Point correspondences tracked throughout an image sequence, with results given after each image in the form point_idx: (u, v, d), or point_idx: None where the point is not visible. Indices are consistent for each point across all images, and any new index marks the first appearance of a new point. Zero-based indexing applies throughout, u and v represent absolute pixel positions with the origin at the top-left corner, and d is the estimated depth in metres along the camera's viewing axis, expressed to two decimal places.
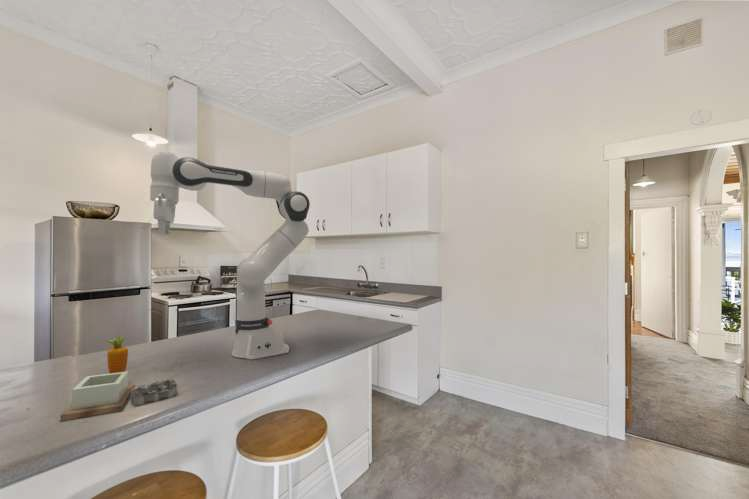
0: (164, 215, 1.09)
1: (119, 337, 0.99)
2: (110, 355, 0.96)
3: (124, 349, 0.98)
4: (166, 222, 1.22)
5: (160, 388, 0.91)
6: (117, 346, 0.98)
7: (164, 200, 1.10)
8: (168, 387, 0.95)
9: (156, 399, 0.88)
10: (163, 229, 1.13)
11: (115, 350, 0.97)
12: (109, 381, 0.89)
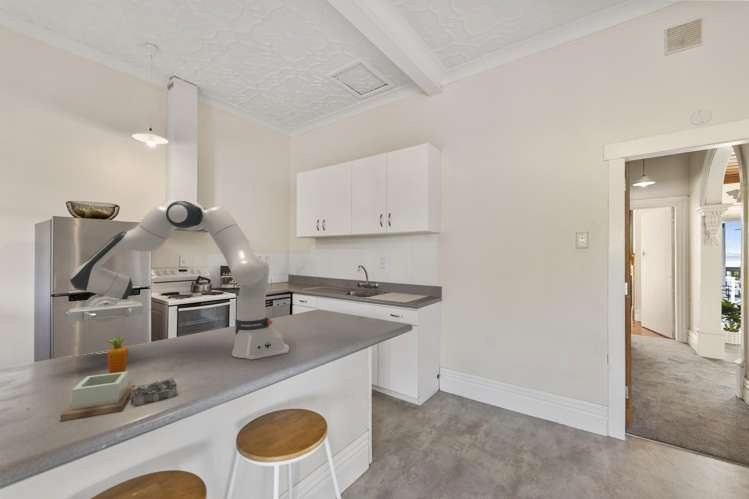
0: (68, 312, 1.03)
1: (119, 337, 0.99)
2: (110, 355, 0.96)
3: (124, 349, 0.98)
4: None
5: (160, 388, 0.91)
6: (117, 346, 0.98)
7: None
8: (168, 387, 0.95)
9: (156, 399, 0.88)
10: (89, 314, 1.03)
11: (115, 350, 0.97)
12: (109, 381, 0.89)
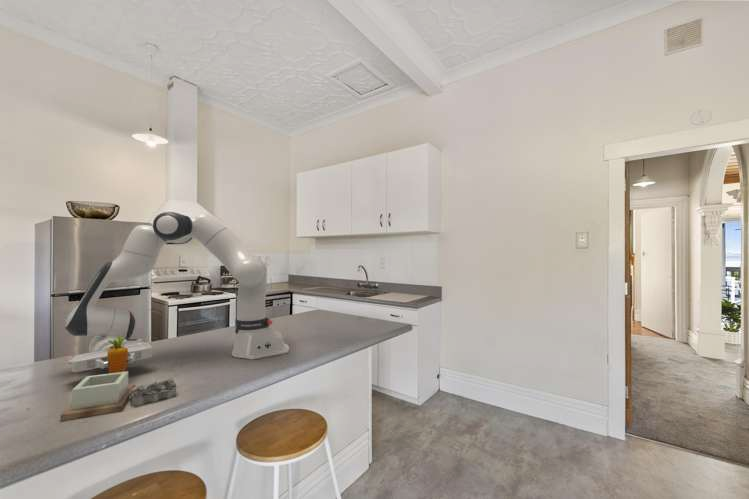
0: (72, 361, 0.94)
1: (119, 337, 0.99)
2: (110, 355, 0.96)
3: (124, 349, 0.98)
4: (128, 356, 1.03)
5: (159, 389, 0.90)
6: (117, 346, 0.98)
7: None
8: (167, 388, 0.95)
9: (155, 400, 0.88)
10: (101, 363, 0.96)
11: (115, 350, 0.97)
12: (109, 381, 0.89)
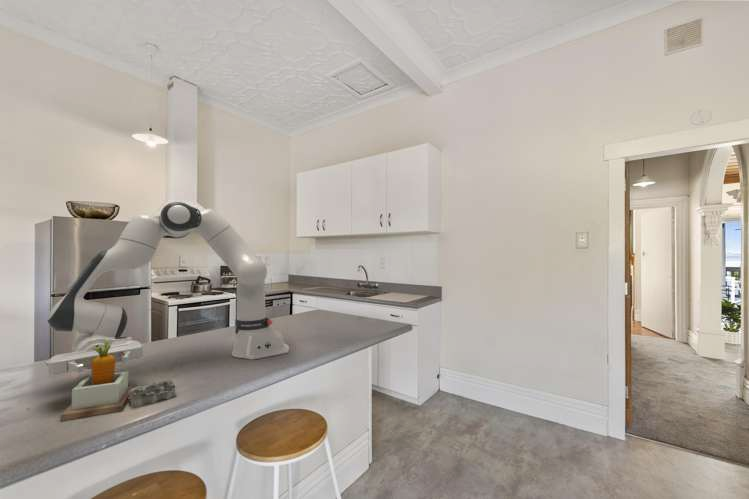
0: (49, 362, 0.82)
1: (106, 344, 0.87)
2: (94, 365, 0.84)
3: (110, 358, 0.86)
4: (123, 355, 0.92)
5: (158, 389, 0.90)
6: (102, 354, 0.85)
7: None
8: (166, 388, 0.94)
9: (154, 400, 0.87)
10: (75, 366, 0.82)
11: (100, 359, 0.84)
12: None
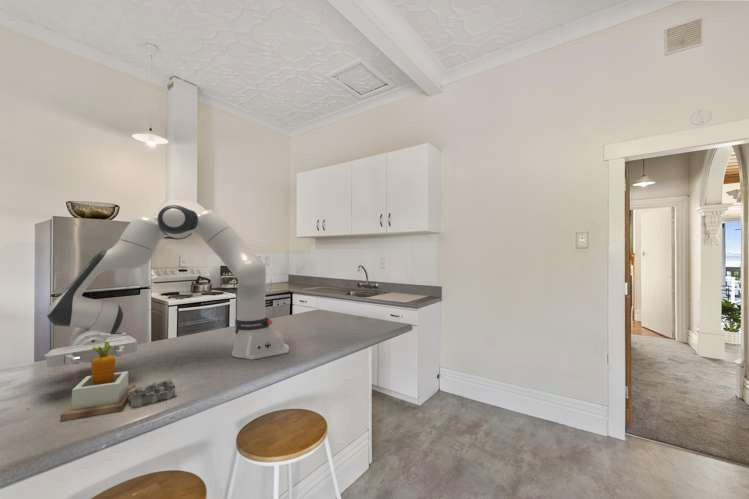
0: (47, 355, 0.87)
1: (106, 344, 0.87)
2: (94, 365, 0.84)
3: (110, 358, 0.86)
4: None
5: (158, 390, 0.90)
6: (102, 354, 0.85)
7: None
8: (165, 389, 0.94)
9: (154, 401, 0.87)
10: (71, 358, 0.87)
11: (100, 359, 0.84)
12: None
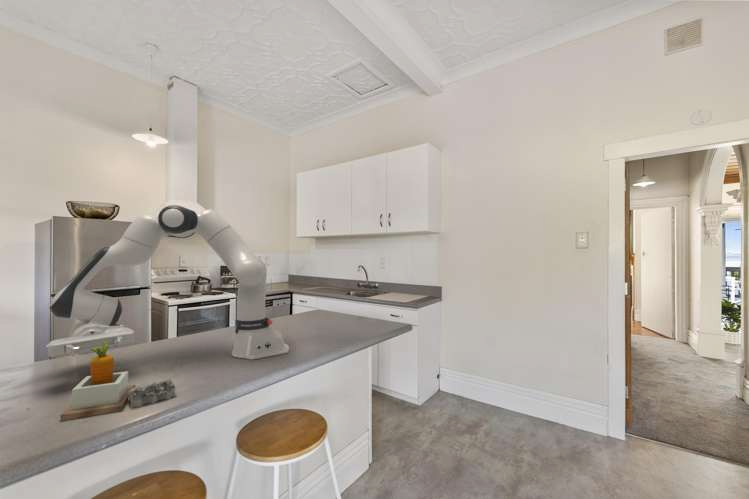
0: (48, 345, 0.91)
1: (104, 344, 0.87)
2: (93, 365, 0.84)
3: (109, 358, 0.86)
4: None
5: (158, 390, 0.89)
6: (101, 355, 0.85)
7: None
8: (165, 389, 0.94)
9: (154, 401, 0.87)
10: (71, 348, 0.91)
11: (98, 359, 0.84)
12: None
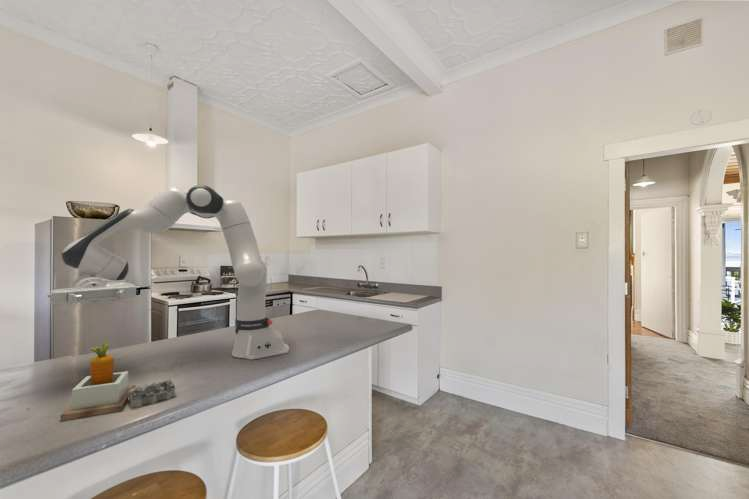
0: (50, 293, 0.91)
1: (104, 344, 0.87)
2: (92, 365, 0.84)
3: (108, 358, 0.86)
4: None
5: (158, 390, 0.89)
6: (101, 355, 0.85)
7: None
8: (165, 389, 0.94)
9: (154, 401, 0.87)
10: (73, 296, 0.91)
11: (98, 359, 0.84)
12: None
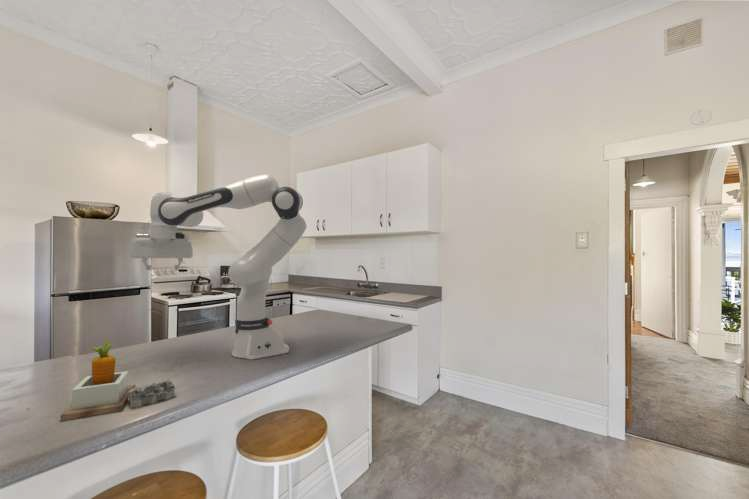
0: None
1: (106, 344, 0.87)
2: (94, 365, 0.84)
3: (110, 359, 0.86)
4: (178, 258, 1.26)
5: (157, 390, 0.89)
6: (103, 355, 0.85)
7: (134, 240, 1.19)
8: (165, 389, 0.94)
9: (154, 401, 0.87)
10: None
11: (100, 359, 0.84)
12: None
